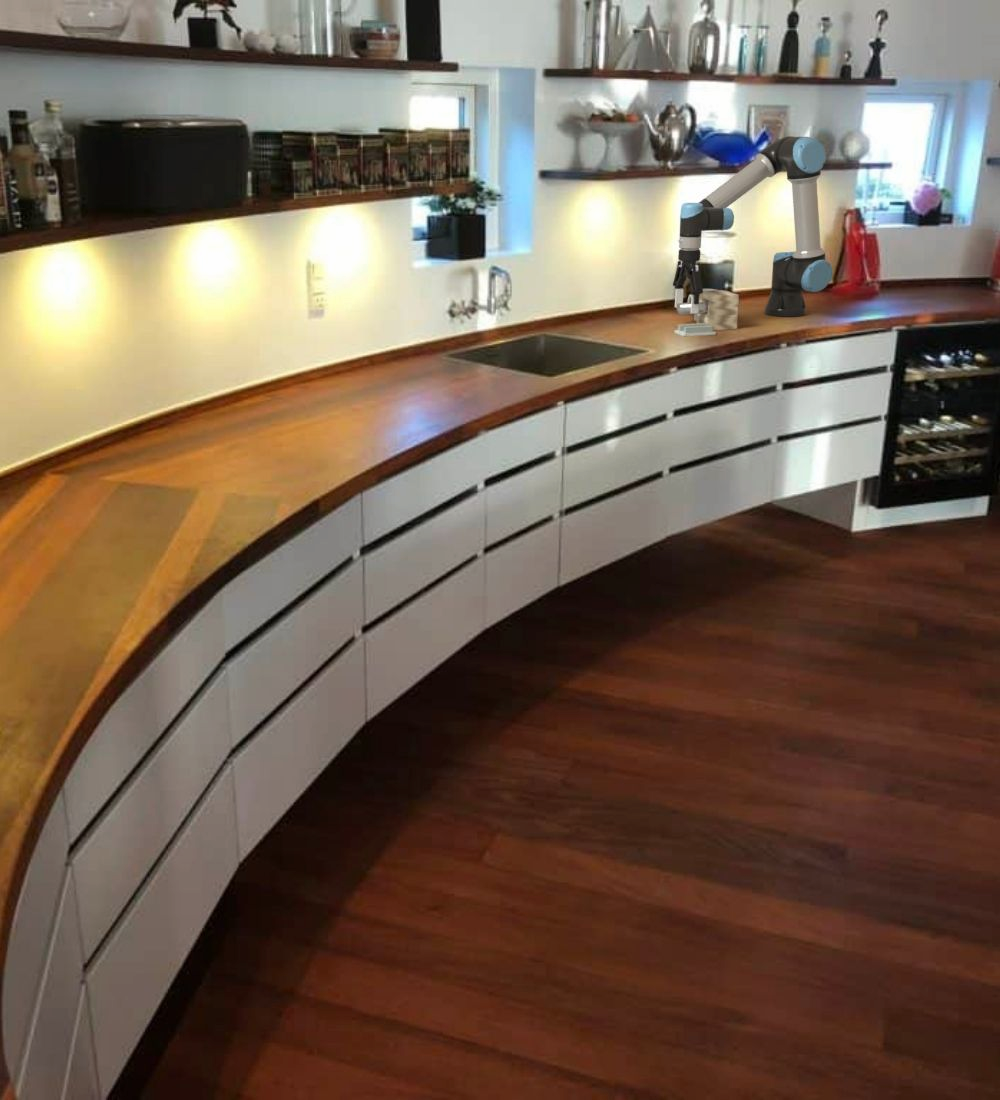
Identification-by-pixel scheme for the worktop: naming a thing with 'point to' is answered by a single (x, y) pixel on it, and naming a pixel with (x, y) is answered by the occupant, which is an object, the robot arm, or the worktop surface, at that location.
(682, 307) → the axle
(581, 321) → the worktop surface
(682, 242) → the robot arm
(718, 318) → the patterned beige cube
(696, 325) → the cradle
